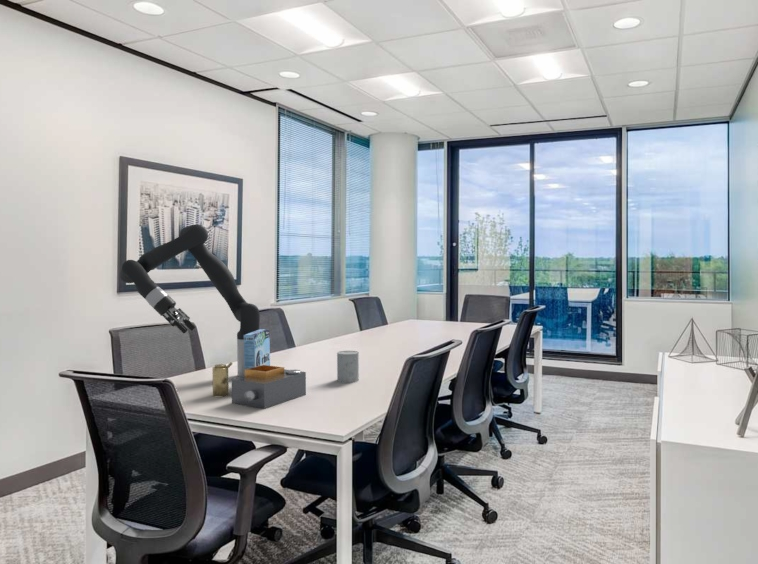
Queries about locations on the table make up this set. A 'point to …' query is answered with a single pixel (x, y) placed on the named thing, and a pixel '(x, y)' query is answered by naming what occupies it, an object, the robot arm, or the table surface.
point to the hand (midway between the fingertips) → (190, 330)
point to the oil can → (220, 380)
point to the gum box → (256, 349)
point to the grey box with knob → (268, 386)
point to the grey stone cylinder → (347, 366)
